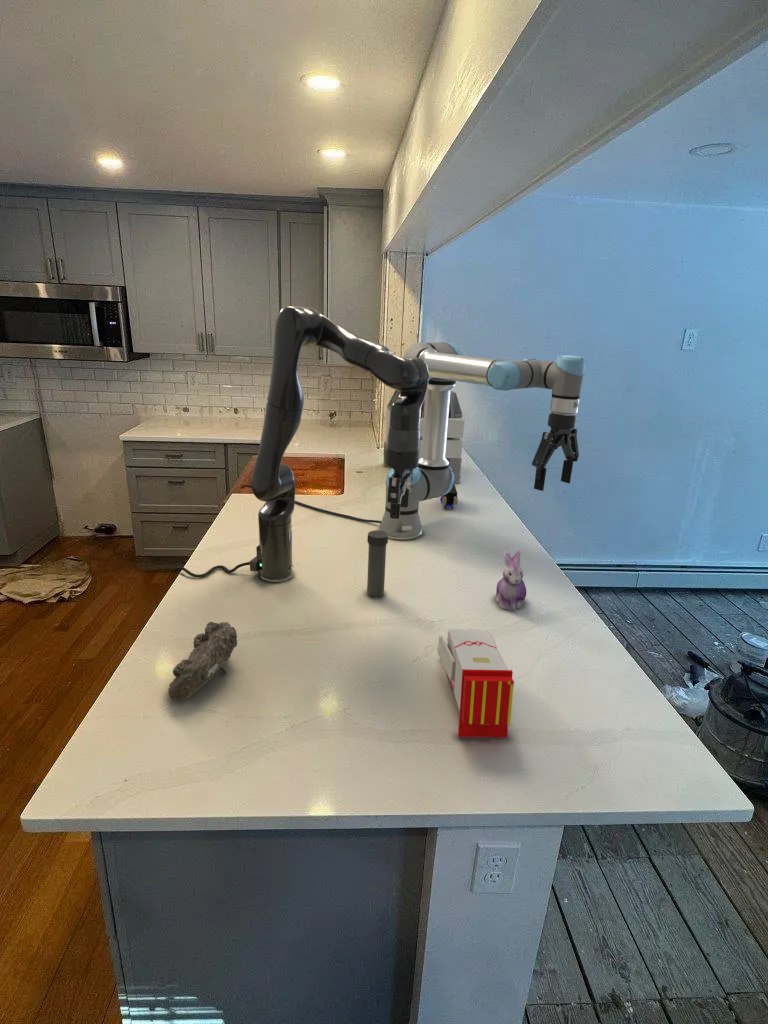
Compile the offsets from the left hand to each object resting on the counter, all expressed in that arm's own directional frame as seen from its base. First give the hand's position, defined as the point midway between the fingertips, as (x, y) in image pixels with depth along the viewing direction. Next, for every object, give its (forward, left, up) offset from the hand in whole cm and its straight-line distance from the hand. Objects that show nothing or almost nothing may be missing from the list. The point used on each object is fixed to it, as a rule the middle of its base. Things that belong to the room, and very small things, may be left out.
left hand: (399, 512), depth 136 cm
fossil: (-31, -37, -29) cm, 56 cm away
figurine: (+28, +19, -29) cm, 44 cm away
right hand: (+35, +42, -1) cm, 55 cm away
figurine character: (-4, +93, -29) cm, 98 cm away
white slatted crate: (-26, +135, -29) cm, 140 cm away
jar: (-8, +10, -29) cm, 31 cm away
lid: (-8, +10, -11) cm, 17 cm away
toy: (+23, -24, -29) cm, 44 cm away
